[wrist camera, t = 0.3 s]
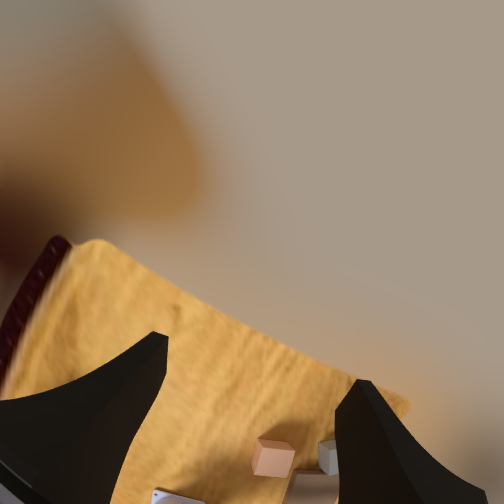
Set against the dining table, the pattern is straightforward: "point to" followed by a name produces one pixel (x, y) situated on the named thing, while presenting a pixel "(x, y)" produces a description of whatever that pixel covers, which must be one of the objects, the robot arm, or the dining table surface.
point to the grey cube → (328, 457)
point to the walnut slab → (312, 488)
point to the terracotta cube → (272, 458)
